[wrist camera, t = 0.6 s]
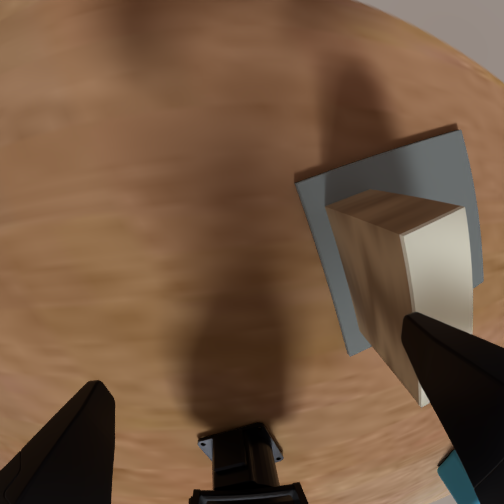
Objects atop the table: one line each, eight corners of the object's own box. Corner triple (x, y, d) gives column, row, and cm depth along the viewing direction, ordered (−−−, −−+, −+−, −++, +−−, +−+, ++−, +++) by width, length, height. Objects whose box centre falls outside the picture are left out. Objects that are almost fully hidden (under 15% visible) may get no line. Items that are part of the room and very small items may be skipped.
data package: (487, 439, 33) (519, 478, 21) (472, 456, 34) (502, 496, 22) (449, 449, 31) (485, 499, 20) (433, 468, 32) (465, 517, 20)
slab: (397, 312, 22) (469, 376, 13) (359, 331, 22) (421, 407, 13) (370, 189, 19) (465, 206, 10) (324, 206, 19) (403, 236, 10)
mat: (479, 279, 23) (483, 281, 22) (347, 352, 23) (349, 356, 22) (456, 130, 19) (461, 129, 19) (294, 183, 19) (296, 183, 19)
